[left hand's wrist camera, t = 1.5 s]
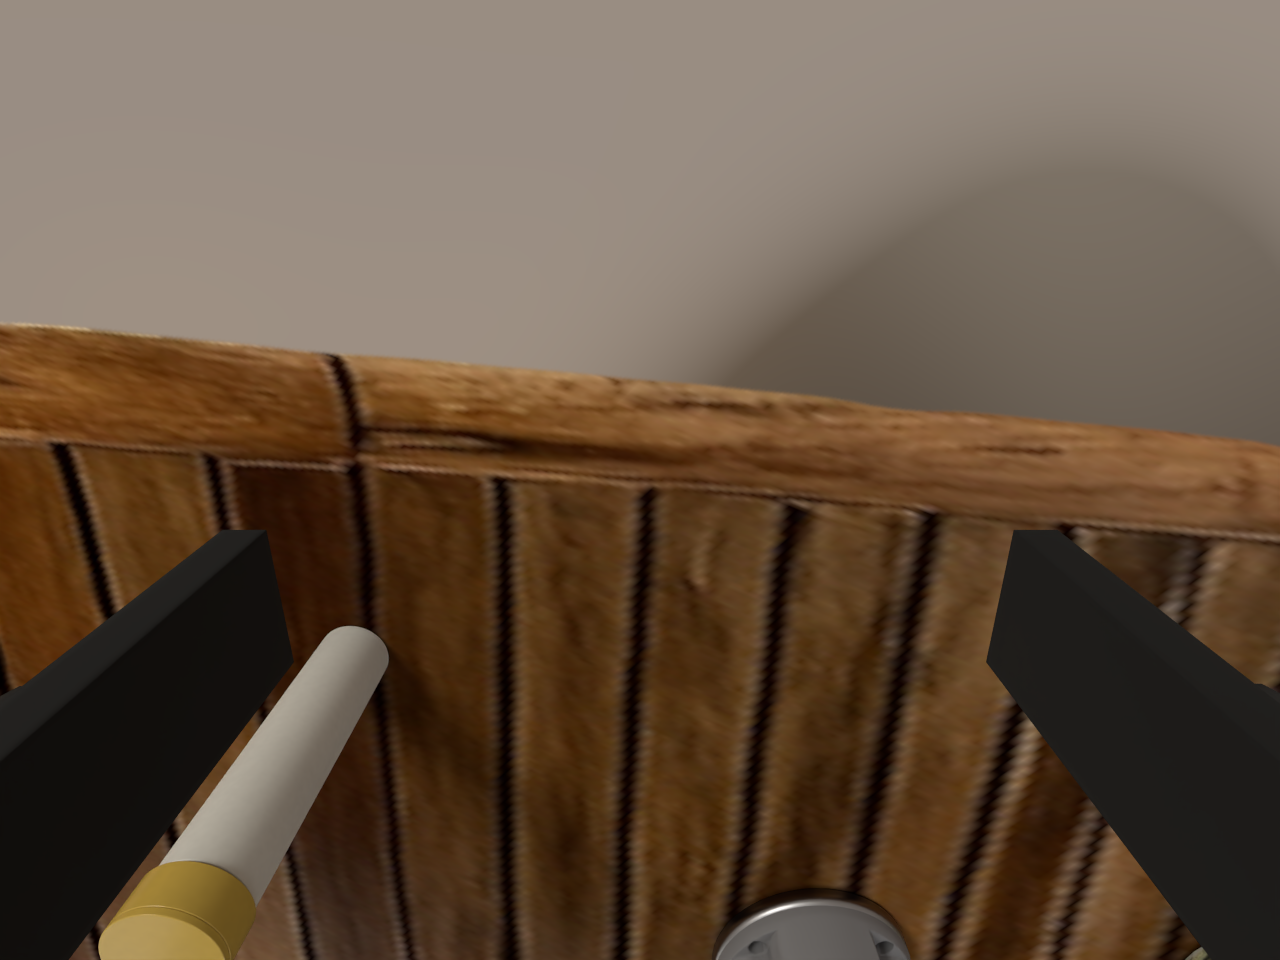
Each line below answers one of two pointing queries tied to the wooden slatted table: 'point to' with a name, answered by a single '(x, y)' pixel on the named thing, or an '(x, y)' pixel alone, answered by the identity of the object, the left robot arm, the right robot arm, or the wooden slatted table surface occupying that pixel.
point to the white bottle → (285, 762)
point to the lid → (181, 916)
